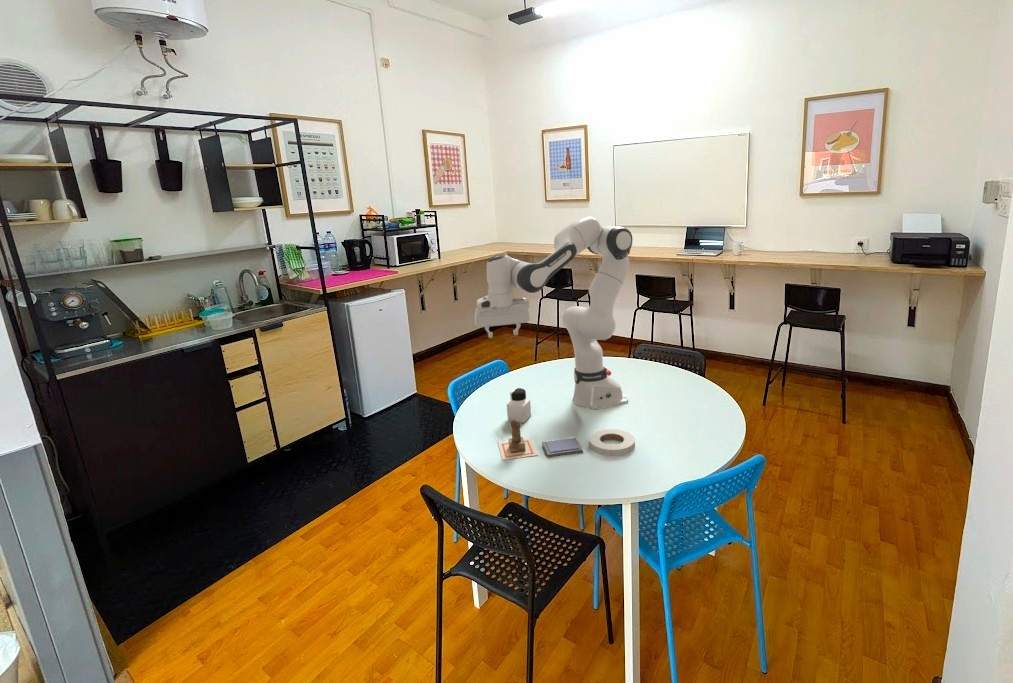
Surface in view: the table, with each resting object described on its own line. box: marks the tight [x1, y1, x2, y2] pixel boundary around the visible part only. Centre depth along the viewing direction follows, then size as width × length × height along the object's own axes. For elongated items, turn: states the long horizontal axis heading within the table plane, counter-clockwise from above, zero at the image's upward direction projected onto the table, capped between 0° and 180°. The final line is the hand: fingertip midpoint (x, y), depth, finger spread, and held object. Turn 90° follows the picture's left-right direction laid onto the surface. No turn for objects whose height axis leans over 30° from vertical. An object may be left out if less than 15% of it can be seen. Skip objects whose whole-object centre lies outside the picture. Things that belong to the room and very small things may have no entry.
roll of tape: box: [588, 428, 636, 458], centre depth 176 cm, size 16×15×3 cm
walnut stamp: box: [507, 419, 525, 453], centre depth 176 cm, size 5×5×11 cm
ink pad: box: [541, 437, 584, 459], centre depth 176 cm, size 12×9×2 cm
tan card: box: [497, 438, 539, 461], centre depth 178 cm, size 12×12×1 cm
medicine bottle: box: [506, 387, 532, 424], centre depth 199 cm, size 7×7×12 cm
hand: (503, 336), depth 191 cm, fingers open, 8 cm apart
